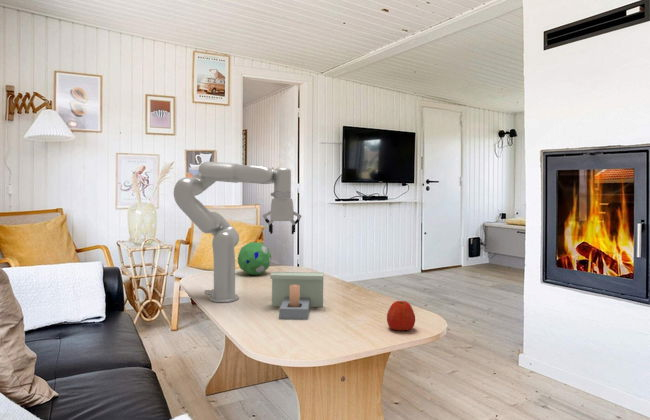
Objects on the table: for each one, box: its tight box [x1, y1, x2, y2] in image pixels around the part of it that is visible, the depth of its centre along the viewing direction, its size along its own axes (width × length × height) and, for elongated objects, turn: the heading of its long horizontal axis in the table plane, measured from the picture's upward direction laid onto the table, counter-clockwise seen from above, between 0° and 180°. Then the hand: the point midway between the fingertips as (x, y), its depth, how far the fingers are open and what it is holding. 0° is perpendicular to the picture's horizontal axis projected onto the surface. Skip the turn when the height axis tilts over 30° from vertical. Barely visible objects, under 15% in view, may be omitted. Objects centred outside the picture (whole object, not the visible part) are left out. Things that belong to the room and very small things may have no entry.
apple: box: [386, 300, 416, 332], centre depth 159 cm, size 10×10×10 cm
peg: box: [290, 284, 300, 307], centre depth 175 cm, size 4×4×12 cm
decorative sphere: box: [237, 241, 272, 276], centre depth 255 cm, size 19×20×20 cm
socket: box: [278, 297, 311, 320], centre depth 178 cm, size 11×18×4 cm, turn 179°
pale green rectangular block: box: [269, 271, 324, 308], centre depth 186 cm, size 22×7×14 cm, turn 89°
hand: (282, 233), depth 196 cm, fingers open, 9 cm apart
